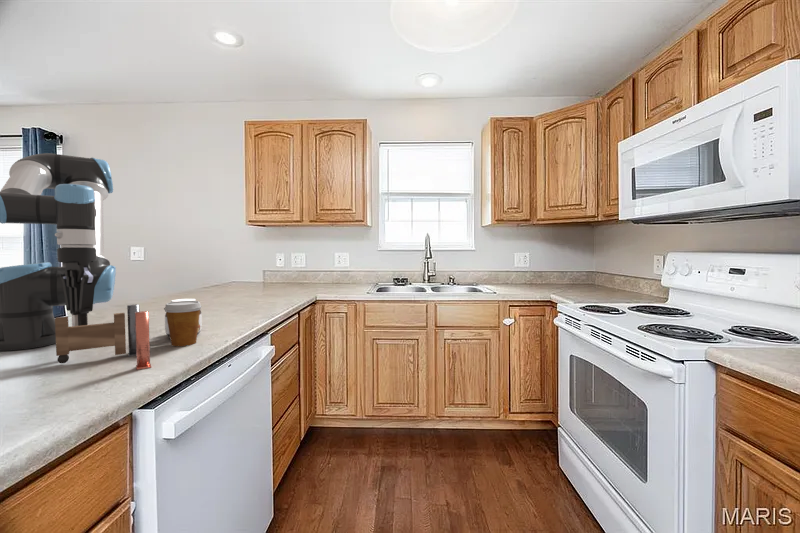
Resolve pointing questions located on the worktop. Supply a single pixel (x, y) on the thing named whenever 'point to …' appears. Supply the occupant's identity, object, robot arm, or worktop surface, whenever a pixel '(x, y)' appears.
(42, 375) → the worktop surface
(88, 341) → the gate
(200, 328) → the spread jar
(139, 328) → the gate posts
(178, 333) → the disposable coffee cup
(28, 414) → the worktop surface
